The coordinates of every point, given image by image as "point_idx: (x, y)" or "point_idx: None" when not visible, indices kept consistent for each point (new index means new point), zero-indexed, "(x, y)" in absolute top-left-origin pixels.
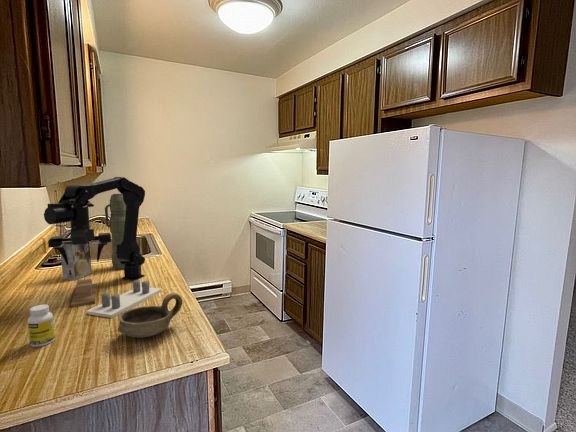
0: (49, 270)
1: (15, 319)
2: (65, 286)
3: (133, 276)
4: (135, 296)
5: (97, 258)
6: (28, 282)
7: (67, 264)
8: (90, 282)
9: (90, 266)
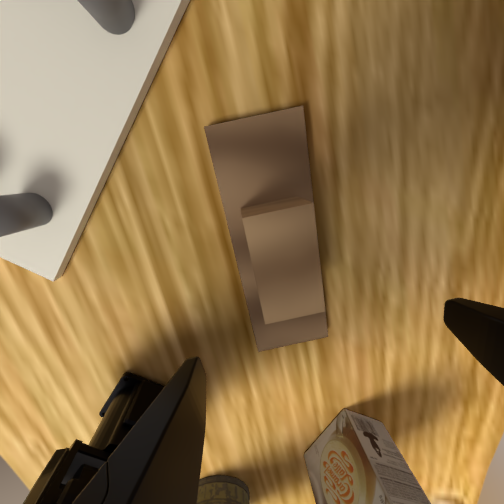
0: (428, 490)
1: (492, 20)
2: (363, 357)
3: (128, 393)
4: (5, 126)
5: (183, 380)
6: (473, 409)
7: (456, 298)
8: (254, 261)
9: (314, 486)
